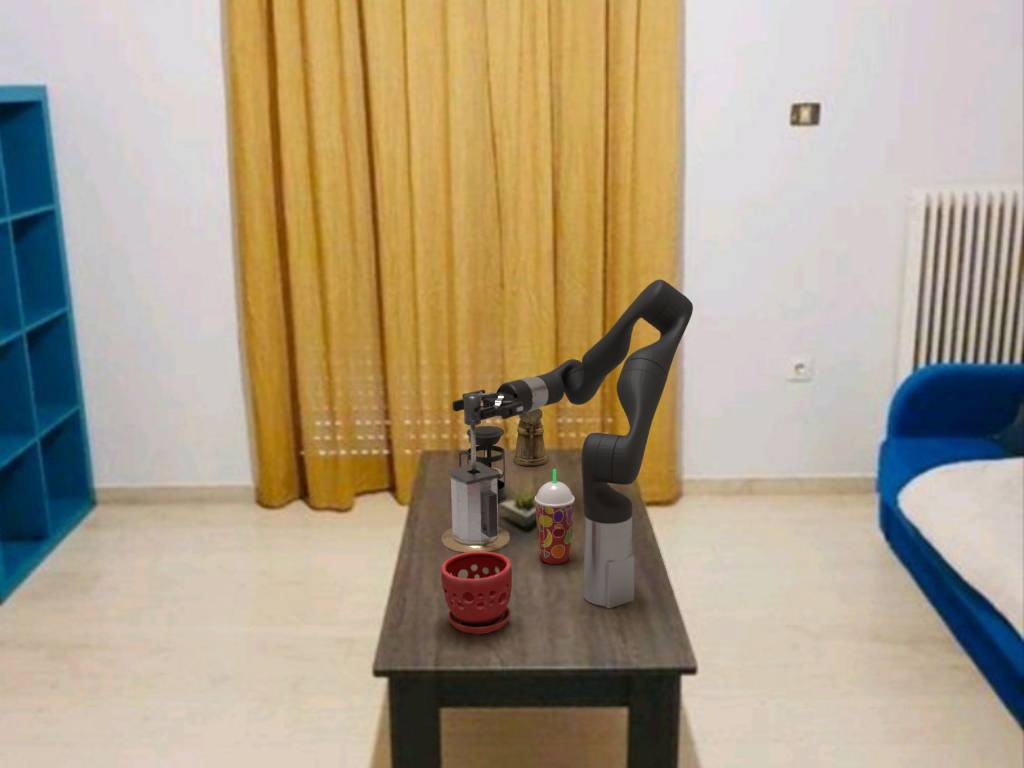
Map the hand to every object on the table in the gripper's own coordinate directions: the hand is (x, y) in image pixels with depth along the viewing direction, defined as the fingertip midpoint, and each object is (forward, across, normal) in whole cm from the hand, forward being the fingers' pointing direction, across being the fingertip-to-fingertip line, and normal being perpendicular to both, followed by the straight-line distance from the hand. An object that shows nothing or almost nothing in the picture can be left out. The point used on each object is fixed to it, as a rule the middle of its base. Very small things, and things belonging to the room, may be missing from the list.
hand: (466, 410), depth 234 cm
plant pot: (+22, +30, +30) cm, 48 cm away
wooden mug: (-43, -27, +30) cm, 59 cm away
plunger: (-2, 0, +19) cm, 20 cm away
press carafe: (-2, 0, +30) cm, 30 cm away
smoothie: (-8, +19, +30) cm, 37 cm away
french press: (-19, -17, +30) cm, 40 cm away
